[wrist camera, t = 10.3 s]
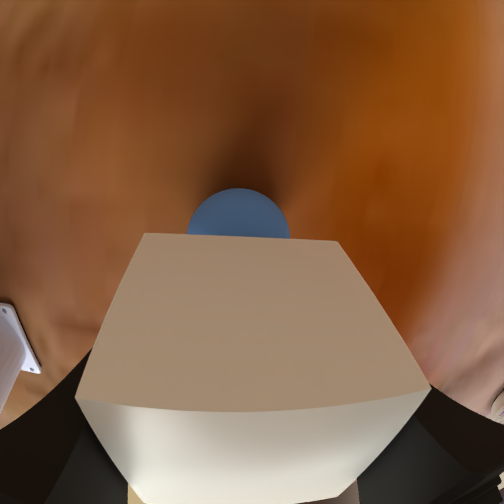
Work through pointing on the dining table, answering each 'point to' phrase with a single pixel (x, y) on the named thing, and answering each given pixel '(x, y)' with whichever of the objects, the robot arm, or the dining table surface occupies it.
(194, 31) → the dining table surface
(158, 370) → the white cube block
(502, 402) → the paper bowls
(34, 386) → the dining table surface
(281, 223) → the ball
